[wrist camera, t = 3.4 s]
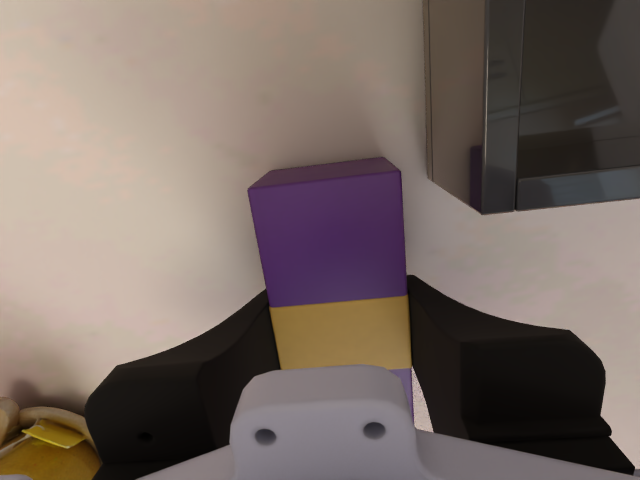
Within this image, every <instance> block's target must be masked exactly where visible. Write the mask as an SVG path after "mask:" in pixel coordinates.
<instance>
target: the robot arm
mask: <svg viewBox="0 0 640 480" xmlns="http://www.w3.org/2000/svg"><path fill="white" fill-rule="evenodd" d="M406 276H407V293H408V295H409V313H410V332H411V352H412V366H413V368H414V371H415V373H416V376H417V379H418V381H419V384H420V386H421V389H422V392H423V395H424V398H425V401H426V404H427V408H428V412H429V416H430V419H431V423H432V427H433V431H434V433H433V432H428V431H423V430H419V429H416V428H415V426H414V422H413V418H412V414H411V410H410V406H409V402H408V398H407V394H406V392H405V390H404V387H403V385H402V382H401V380H400V378H399V377H397V376H396V375H394V374H393V373H392V372H390V371H389V370H387V369H386V368H384V367H380V366H373V365H366V364H355V365H342V366H328V367H315V368H301V369H288V370H281V368H280V363H279V358H278V352H277V347H276V342H275V337H274V332H273V327H272V322H271V316H270V311H269V306H270V305H269V300H268V295H267V290H266V289H265V290H263V291H262V292H261V293H260V294H258V295H257V296H256V297H255V298H253V299H252V300H251V301H250V302H248V303H247V304H246V305H245V306H243V307H242V308H241V309H240V310H238V311H237V312H236V313H234V314H233V315H231V316H230V317H229V318H227V319H226V320H225V321H223V322H222V323H220V324H219V325H217V326H215V327H214V328H212V329H210V330H209V331H207V332H205V333H203V334H202V335H200V336H198V337H196V338H193V339H191V340H189V341H187V342H185V343H183V344H181V345H179V346H176V347H174V348H171V349H169V350H166V351H163V352H161V353H158V354H155V355H152V356H149V357H146V358H142V359H139V360H135V361H132V362H128V363H125V364H121V365H117V366H116V367H115V368H114V369H113V370H112V371H111V373H110V374H109V375H108V376H107V377H106V378H105V379H104V380H103V382H102V383H101V384H100V385H99V386H98V387H97V388H96V390H95V391H94V392H93V393H92V394H91V395H90V396H89V398H88V400H87V402H86V405H85V412H84V417H85V421H86V425H87V428H88V431H89V433H90V435H91V438H92V440H93V442H94V445H95V447H96V449H97V451H98V454H99V456H100V458H101V461H102V463H103V464H102V465H101V467H100V468H99V470H98V471H97V472H96V474H95V475H94V477H93V478H92V480H640V469H635V466H634V465H633V464H632V463H631V462H630V461H629V459H628V458H627V457H626V456H625V455H624V454H623V452H622V451H621V450H620V449H619V448H618V446H617V445H616V444H615V443H614V442H613V441H612V439H611V438H610V437H609V436H611V433H612V430H611V428H610V426H609V425H608V424H607V423H606V421H605V420H604V419H603V418H602V417H601V416H600V414H601V408H602V402H603V396H604V390H605V384H606V377H605V369H604V366H603V364H602V361H601V360H600V358H599V357H598V356H597V355H596V354H595V353H594V352H593V351H592V350H591V349H590V348H589V347H588V346H587V345H586V344H585V343H584V342H583V341H581V340H580V339H579V338H578V337H577V336H576V335H575V334H574V333H572V332H571V331H570V330H564V329H556V328H548V327H540V326H534V325H529V324H524V323H519V322H514V321H510V320H506V319H502V318H499V317H495V316H492V315H489V314H486V313H483V312H480V311H478V310H475V309H473V308H470V307H468V306H465V305H463V304H461V303H459V302H457V301H455V300H453V299H451V298H449V297H448V296H446V295H444V294H442V293H441V292H439V291H437V290H436V289H434V288H433V287H431V286H429V285H428V284H426V283H425V282H423V281H422V280H420V279H419V278H417V277H416V276H414V275H406ZM0 480H33V479H32V478H30V477H28V476H26V475H21V474H13V475H0Z"/></svg>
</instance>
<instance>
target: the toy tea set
mask: <svg viewBox="0 0 640 480" xmlns="http://www.w3.org/2000/svg"><path fill="white" fill-rule="evenodd" d="M102 464H103V463H102V461H101V458H100V456H99V454H98V451H97V449H96V447H95V445H94V442H93V440H92V438H91V435H90V433H89V431H88V428H87V425H86V421H85V418H84V417H83V416H81V415H78V414H75V413H73V412H70V411H67V410H63V409H59V408H53V407H31V408H25V409H22V410H19V407H18V405H17V404H16V403H15V402H14V401H13V400H11V399H9V398H6V397H0V475H13V474H21V475H26V476H28V477H30V478H32V479H33V480H92V478H93V477H94V475H95V474H96V472H97V471H98V470H99V468H100V467H101V465H102Z"/></svg>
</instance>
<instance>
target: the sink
mask: <svg viewBox="0 0 640 480" xmlns="http://www.w3.org/2000/svg"><path fill="white" fill-rule="evenodd" d="M423 26H424V61H425V97H426V133H427V168H428V179H429V180H430V181H432V182H434V183H435V184H436V185H438V186H439V187H441V188H442V189H444V190H445V191H447V192H448V193H450V194H451V195H453V196H454V197H456V198H457V199H459V200H460V201H462V202H463V203H465V204H466V205H468V206H469V207H471V208H472V209H474V210H475V211H477V212H478V213H480V214H481V215H489V214H499V213H508V212H513V211H528V210H537V209H547V208H556V207H565V206H575V205H584V204H594V203H603V202H613V201H622V200H631V199H640V0H423Z"/></svg>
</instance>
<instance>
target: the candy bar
mask: <svg viewBox="0 0 640 480" xmlns="http://www.w3.org/2000/svg"><path fill="white" fill-rule="evenodd" d="M247 191H248V197H249V202H250V207H251V212H252V217H253V223H254V228H255V233H256V238H257V243H258V248H259V254H260V259H261V264H262V269H263V274H264V279H265V285H266V290H267V295H268V300H269V305H270V306H269V311H270V316H271V322H272V327H273V332H274V337H275V342H276V347H277V352H278V358H279V363H280V368H281V370H288V369H301V368H315V367H328V366H342V365H355V364H366V365H373V366H380V367H384V368H386V369H387V370H389V371H390V372H392V373H393V374H394V375H396V376H397V377H399V378H400V380H401V382H402V385H403V387H404V390H405V392H406V394H407V398H408V402H409V406H410V410H411V414H412V418H413V422H414V411H413V392H412V372H411V367H412V352H411V332H410V313H409V295H408V293H407V276H406V256H405V237H404V218H403V198H402V179H401V171H400V170H399V169H398V168H396V167H395V166H394V165H393V164H392V163H390V162H389V161H388V160H387V159H386V158H384V157H379V158H370V159H362V160H354V161H346V162H338V163H329V164H321V165H313V166H305V167H297V168H289V169H280V170H272V171H269V172H268V173H267V174H266V175H264V176H263V177H262V178H261V179H259V180H258V181H257V182H255V183H254V184H253V185H252V186H250V187H249V188H248V190H247Z"/></svg>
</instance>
